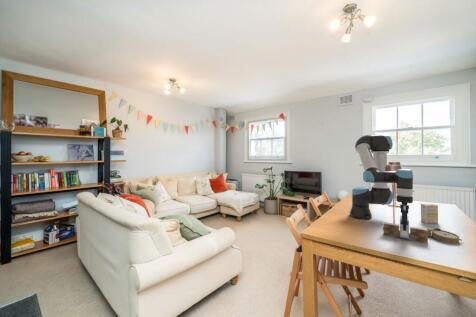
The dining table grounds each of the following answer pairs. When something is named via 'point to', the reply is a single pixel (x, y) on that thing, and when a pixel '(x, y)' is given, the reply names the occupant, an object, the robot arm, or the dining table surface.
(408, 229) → the slotted blue block
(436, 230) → the alarm clock
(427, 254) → the dining table surface
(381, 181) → the robot arm
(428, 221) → the supplement box
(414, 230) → the walnut rail
